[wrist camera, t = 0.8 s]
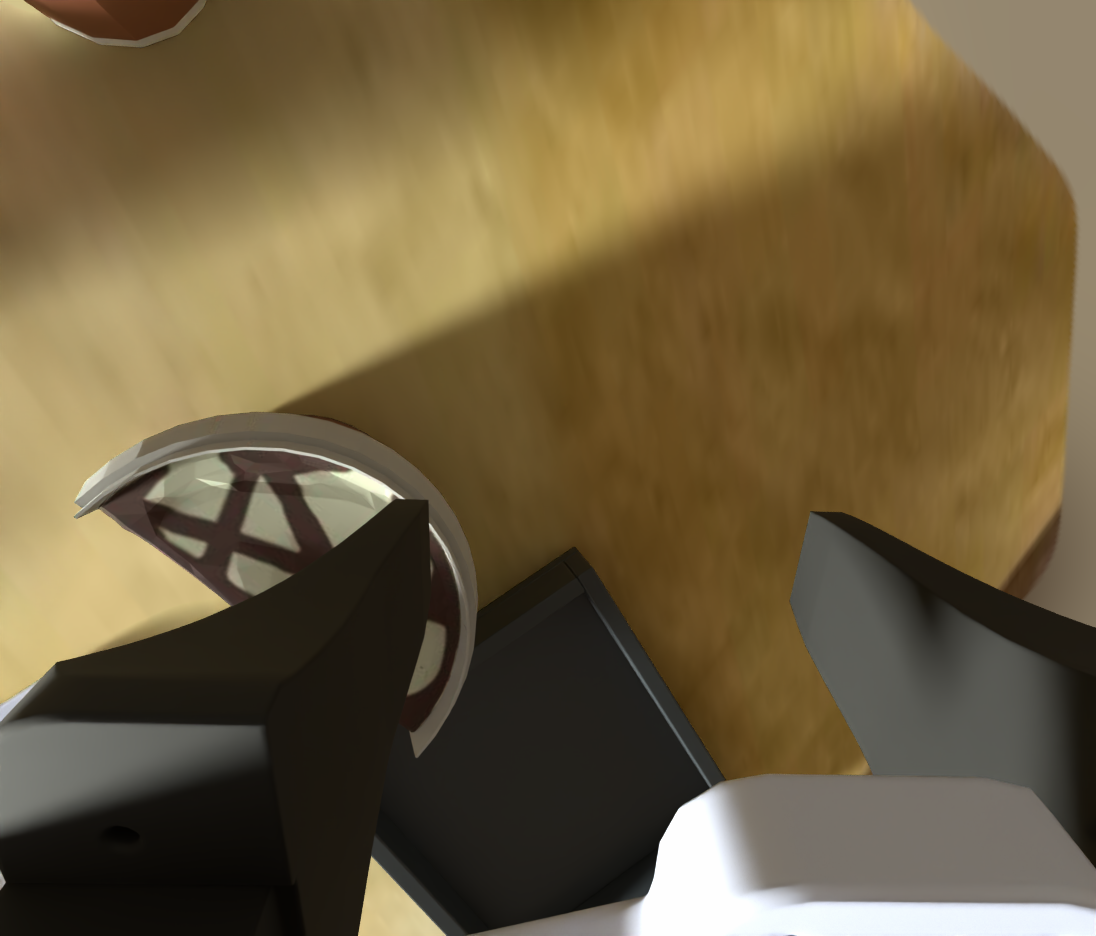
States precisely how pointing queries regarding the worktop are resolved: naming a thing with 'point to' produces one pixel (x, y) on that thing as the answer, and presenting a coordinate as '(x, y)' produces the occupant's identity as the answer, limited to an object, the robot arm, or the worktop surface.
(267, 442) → the food container
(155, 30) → the coffee cup
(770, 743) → the worktop surface
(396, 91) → the worktop surface
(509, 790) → the tray
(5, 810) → the robot arm
